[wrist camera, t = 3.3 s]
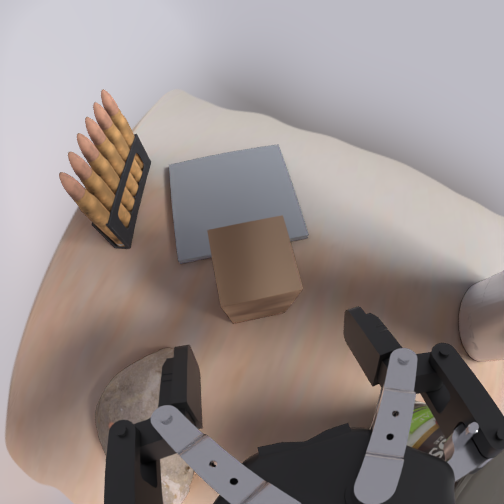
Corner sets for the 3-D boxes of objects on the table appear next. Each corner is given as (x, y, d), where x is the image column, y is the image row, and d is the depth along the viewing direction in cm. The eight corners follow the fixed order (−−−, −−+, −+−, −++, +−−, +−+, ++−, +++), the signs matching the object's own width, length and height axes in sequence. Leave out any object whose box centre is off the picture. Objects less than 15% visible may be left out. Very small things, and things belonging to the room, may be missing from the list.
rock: (214, 356, 24) (121, 338, 25) (199, 350, 20) (96, 328, 22) (194, 504, 17) (104, 470, 19) (177, 521, 13) (78, 477, 15)
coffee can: (350, 419, 20) (441, 471, 7) (441, 387, 21) (548, 390, 8) (354, 504, 17) (416, 580, 4) (440, 469, 17) (525, 503, 4)
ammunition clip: (137, 162, 30) (98, 85, 18) (151, 161, 30) (115, 81, 18) (114, 248, 26) (46, 186, 15) (130, 249, 26) (64, 184, 15)
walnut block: (272, 263, 25) (282, 215, 17) (284, 312, 24) (303, 288, 15) (223, 274, 25) (207, 230, 16) (233, 323, 24) (220, 306, 15)
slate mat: (277, 149, 30) (278, 144, 29) (307, 238, 26) (308, 234, 26) (170, 169, 29) (168, 165, 28) (180, 263, 25) (178, 261, 25)
